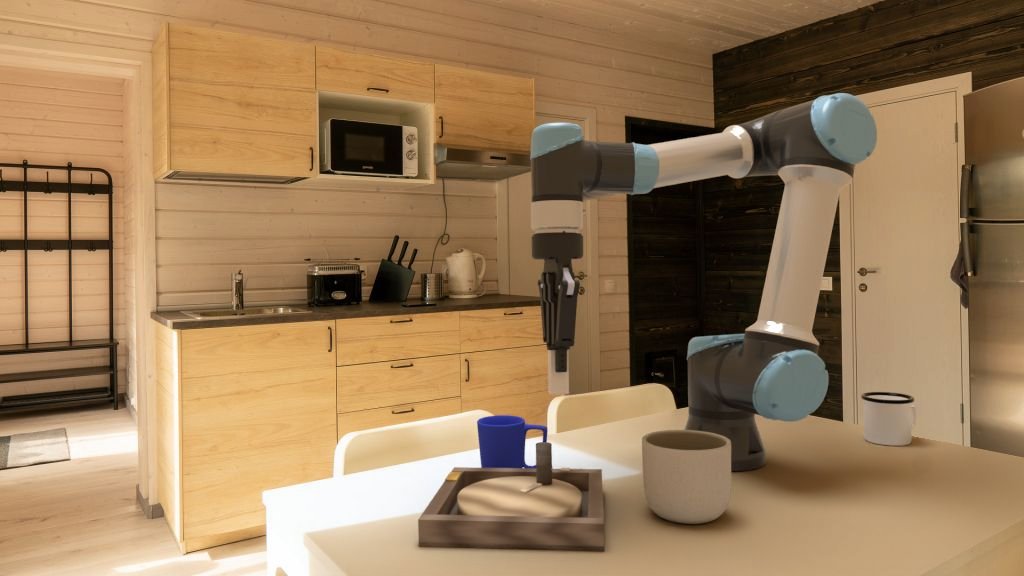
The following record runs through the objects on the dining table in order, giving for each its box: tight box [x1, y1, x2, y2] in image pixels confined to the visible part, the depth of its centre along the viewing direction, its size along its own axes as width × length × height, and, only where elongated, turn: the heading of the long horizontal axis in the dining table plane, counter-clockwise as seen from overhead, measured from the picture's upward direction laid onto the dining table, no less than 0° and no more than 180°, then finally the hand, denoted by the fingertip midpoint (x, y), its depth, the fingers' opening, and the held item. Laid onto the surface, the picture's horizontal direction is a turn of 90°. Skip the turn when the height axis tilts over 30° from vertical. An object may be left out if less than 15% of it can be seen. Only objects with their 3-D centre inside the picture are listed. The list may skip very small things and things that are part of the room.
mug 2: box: [860, 391, 917, 447], centre depth 141 cm, size 12×10×9 cm
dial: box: [457, 441, 582, 518], centre depth 103 cm, size 18×18×8 cm
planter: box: [641, 429, 732, 525], centre depth 102 cm, size 12×12×11 cm
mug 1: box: [476, 414, 548, 468], centre depth 121 cm, size 8×12×10 cm
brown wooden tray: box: [417, 466, 605, 552], centre depth 103 cm, size 24×24×4 cm
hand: (558, 393), depth 104 cm, fingers closed
